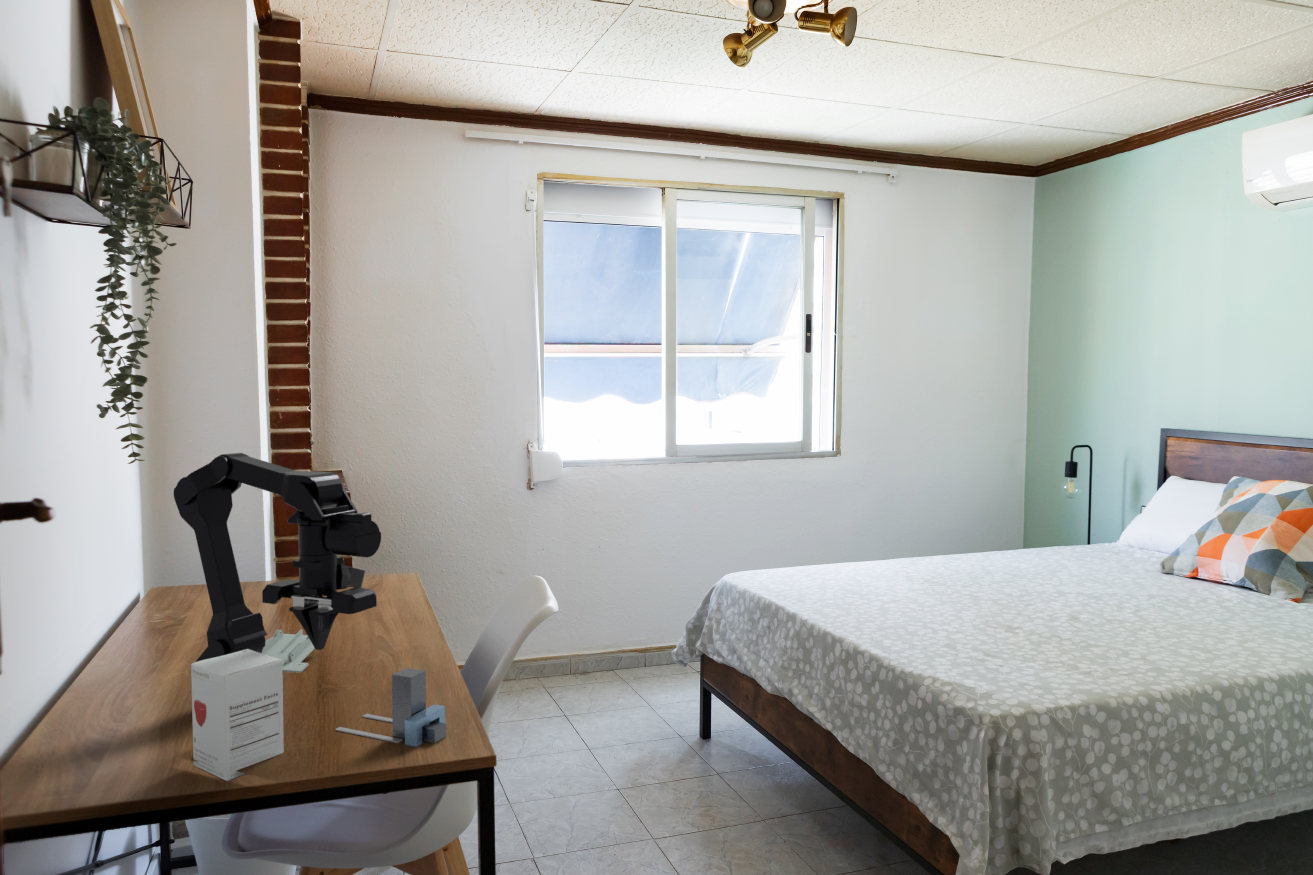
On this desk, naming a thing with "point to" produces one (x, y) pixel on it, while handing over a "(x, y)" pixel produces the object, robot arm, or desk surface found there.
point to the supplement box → (236, 711)
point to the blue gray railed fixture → (406, 725)
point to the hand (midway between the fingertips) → (319, 649)
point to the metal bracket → (289, 650)
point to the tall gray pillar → (412, 704)
